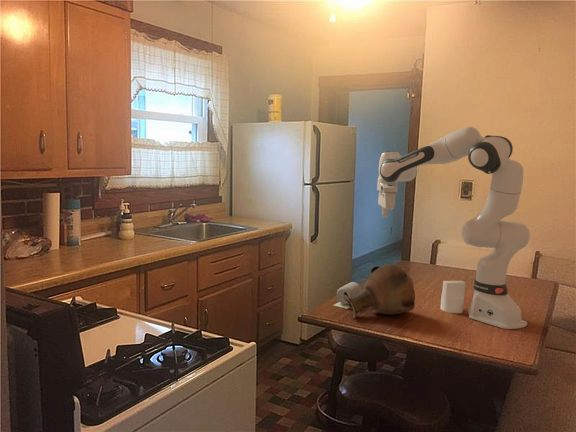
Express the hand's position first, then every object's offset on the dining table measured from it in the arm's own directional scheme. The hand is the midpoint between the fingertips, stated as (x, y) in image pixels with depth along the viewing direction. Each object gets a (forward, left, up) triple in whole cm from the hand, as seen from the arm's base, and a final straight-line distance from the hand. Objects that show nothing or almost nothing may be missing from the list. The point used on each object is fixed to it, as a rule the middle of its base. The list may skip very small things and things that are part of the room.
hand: (384, 217), depth 230 cm
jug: (-28, +23, -34) cm, 50 cm away
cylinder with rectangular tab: (-35, -10, -34) cm, 50 cm away
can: (-9, +21, -30) cm, 38 cm away
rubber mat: (-13, +28, -34) cm, 46 cm away
